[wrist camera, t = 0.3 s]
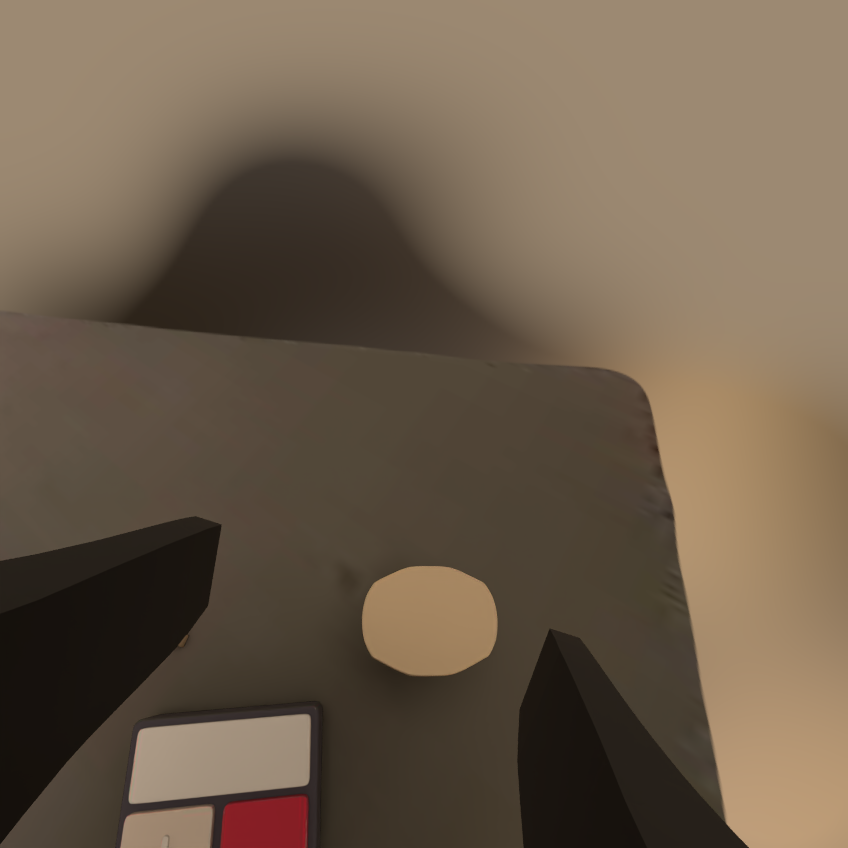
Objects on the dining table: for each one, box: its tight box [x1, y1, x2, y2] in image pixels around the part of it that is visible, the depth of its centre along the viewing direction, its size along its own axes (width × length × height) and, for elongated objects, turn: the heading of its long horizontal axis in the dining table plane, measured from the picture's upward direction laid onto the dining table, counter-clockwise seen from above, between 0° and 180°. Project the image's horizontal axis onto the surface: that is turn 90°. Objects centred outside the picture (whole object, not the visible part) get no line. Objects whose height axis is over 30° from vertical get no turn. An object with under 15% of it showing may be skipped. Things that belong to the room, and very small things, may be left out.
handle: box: [362, 566, 497, 676], centre depth 30 cm, size 5×6×15 cm
